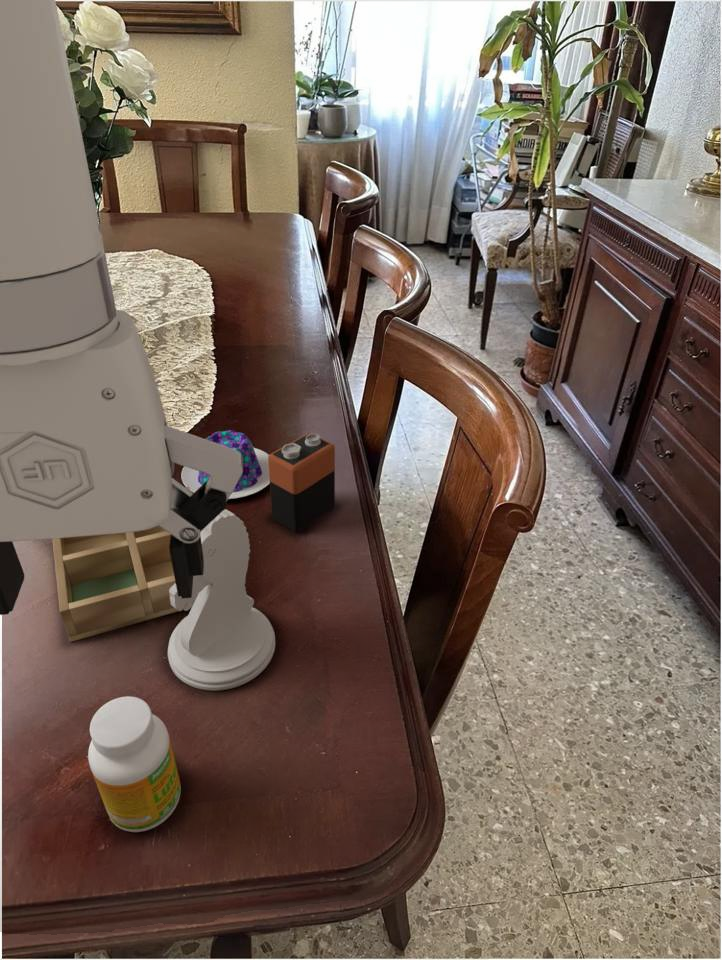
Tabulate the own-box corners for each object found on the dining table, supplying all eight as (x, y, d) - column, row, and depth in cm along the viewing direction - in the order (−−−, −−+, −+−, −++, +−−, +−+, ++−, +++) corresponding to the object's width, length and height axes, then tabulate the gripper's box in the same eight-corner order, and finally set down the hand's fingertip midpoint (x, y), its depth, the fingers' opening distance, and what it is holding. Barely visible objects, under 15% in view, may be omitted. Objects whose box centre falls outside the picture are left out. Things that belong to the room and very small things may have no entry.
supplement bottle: (171, 835, 48) (149, 758, 42) (97, 833, 48) (65, 756, 42) (188, 766, 52) (171, 688, 46) (120, 764, 52) (94, 686, 46)
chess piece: (146, 651, 61) (115, 526, 52) (227, 593, 67) (211, 473, 59) (216, 711, 56) (195, 583, 48) (297, 642, 62) (291, 518, 54)
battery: (270, 519, 77) (265, 447, 72) (310, 493, 82) (308, 423, 76) (297, 535, 75) (294, 462, 69) (336, 508, 80) (336, 437, 74)
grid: (70, 642, 62) (59, 611, 60) (58, 546, 73) (49, 517, 70) (225, 597, 67) (221, 568, 65) (193, 514, 78) (188, 486, 76)
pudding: (171, 463, 87) (165, 428, 84) (258, 442, 91) (255, 409, 88) (197, 514, 78) (191, 478, 75) (291, 488, 83) (290, 453, 80)
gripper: (-263, 341, 24) (-88, 656, 34) (225, 325, 26) (254, 623, 36) (-162, 274, 30) (-39, 557, 40) (227, 265, 32) (252, 535, 42)
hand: (101, 588), depth 38 cm, fingers open, 9 cm apart
